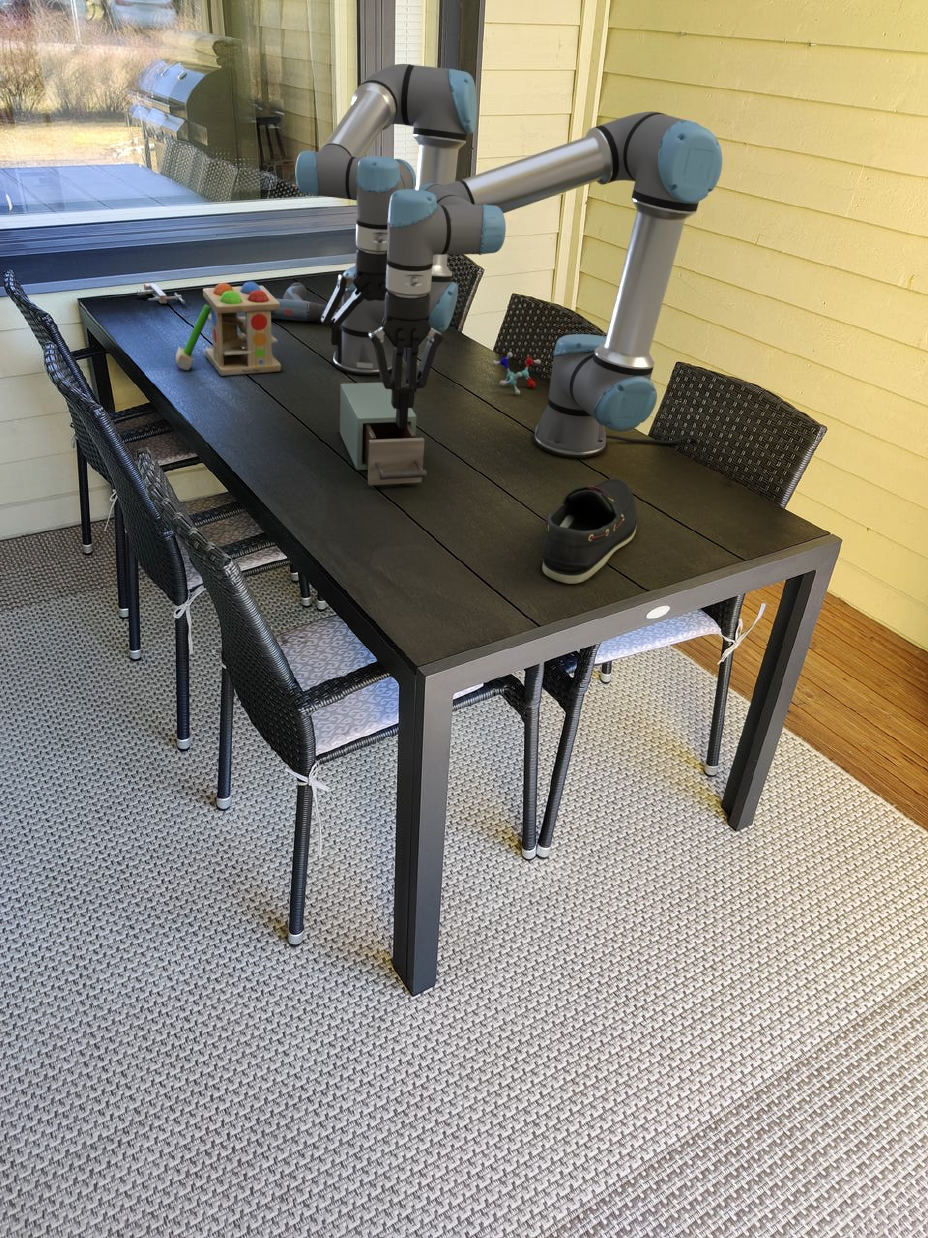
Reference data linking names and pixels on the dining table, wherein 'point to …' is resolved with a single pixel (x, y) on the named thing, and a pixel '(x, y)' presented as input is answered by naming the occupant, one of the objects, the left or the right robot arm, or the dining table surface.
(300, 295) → the power drill
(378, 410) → the cabinet
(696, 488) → the dining table surface
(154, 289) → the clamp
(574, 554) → the boat shoe
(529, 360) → the molecular model
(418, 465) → the drawer
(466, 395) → the dining table surface
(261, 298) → the pounding bench toy
